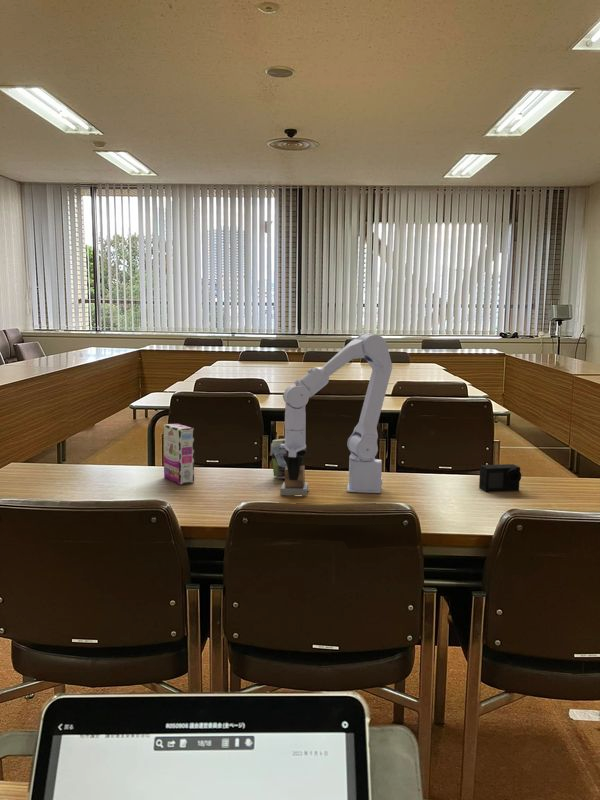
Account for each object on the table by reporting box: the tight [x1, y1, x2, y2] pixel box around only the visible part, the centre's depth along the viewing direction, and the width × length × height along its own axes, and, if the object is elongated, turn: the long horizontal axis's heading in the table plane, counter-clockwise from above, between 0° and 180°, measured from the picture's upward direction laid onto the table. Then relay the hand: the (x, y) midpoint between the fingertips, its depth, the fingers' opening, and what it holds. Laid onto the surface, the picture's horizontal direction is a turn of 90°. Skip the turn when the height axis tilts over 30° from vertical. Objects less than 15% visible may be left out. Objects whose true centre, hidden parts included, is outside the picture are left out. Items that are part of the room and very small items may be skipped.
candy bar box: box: [163, 423, 195, 486], centre depth 191 cm, size 11×5×16 cm, turn 36°
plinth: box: [280, 481, 309, 497], centre depth 180 cm, size 7×7×2 cm
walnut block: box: [284, 465, 306, 488], centre depth 180 cm, size 5×5×5 cm
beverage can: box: [270, 438, 287, 479], centre depth 196 cm, size 6×7×12 cm
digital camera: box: [478, 463, 522, 493], centre depth 185 cm, size 10×5×7 cm, turn 101°
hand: (294, 477), depth 180 cm, fingers closed on walnut block, 5 cm apart
